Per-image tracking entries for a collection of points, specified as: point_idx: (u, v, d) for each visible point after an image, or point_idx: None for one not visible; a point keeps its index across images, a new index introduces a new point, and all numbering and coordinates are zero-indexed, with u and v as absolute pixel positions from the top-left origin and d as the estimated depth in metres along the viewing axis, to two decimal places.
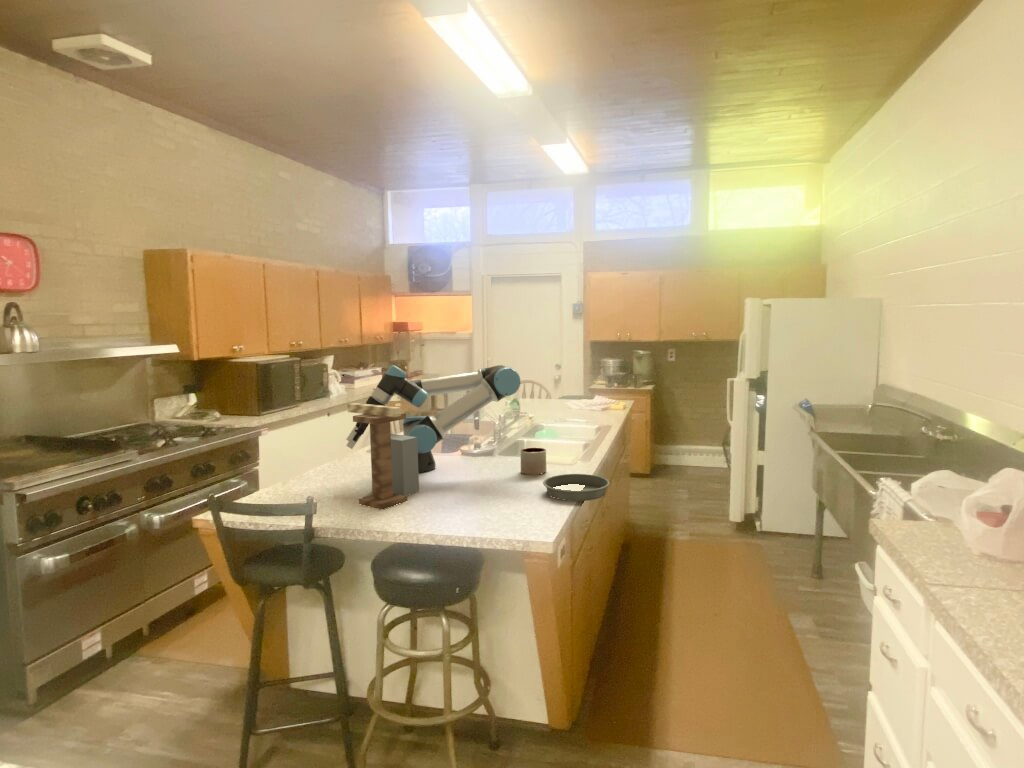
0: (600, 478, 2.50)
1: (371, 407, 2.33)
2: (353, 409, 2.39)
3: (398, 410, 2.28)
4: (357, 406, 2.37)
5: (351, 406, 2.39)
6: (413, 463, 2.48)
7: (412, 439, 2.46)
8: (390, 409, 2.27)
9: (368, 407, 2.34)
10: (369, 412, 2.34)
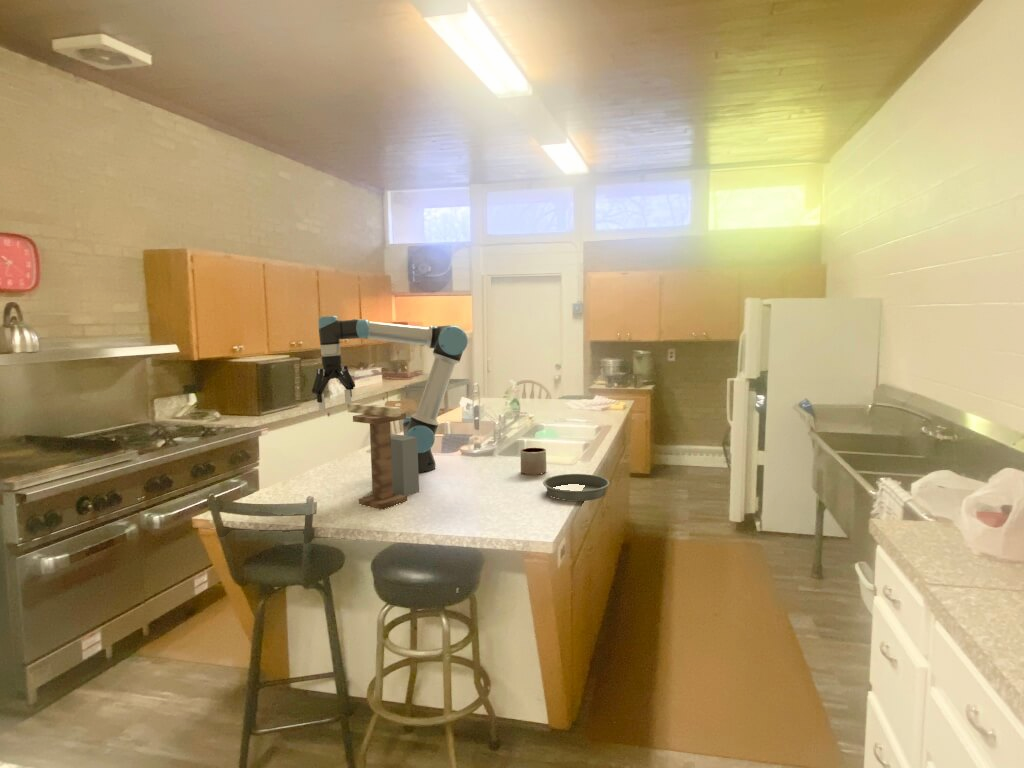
0: (600, 478, 2.50)
1: (371, 407, 2.33)
2: (353, 409, 2.39)
3: (398, 410, 2.28)
4: (357, 406, 2.37)
5: (351, 406, 2.39)
6: (413, 463, 2.48)
7: (412, 439, 2.46)
8: (390, 409, 2.27)
9: (368, 407, 2.34)
10: (369, 412, 2.34)
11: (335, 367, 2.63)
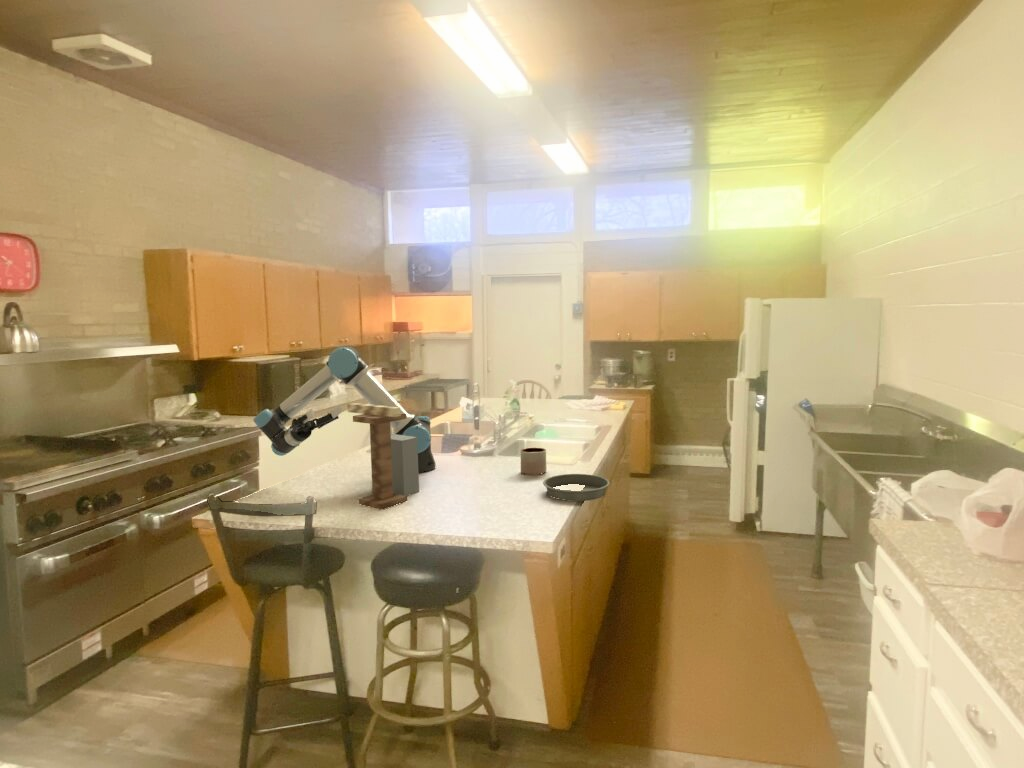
0: (600, 478, 2.50)
1: (371, 407, 2.33)
2: (353, 409, 2.39)
3: (398, 410, 2.28)
4: (357, 406, 2.37)
5: (351, 406, 2.39)
6: (413, 463, 2.48)
7: (412, 439, 2.46)
8: (390, 409, 2.27)
9: (368, 407, 2.34)
10: (369, 412, 2.34)
11: None
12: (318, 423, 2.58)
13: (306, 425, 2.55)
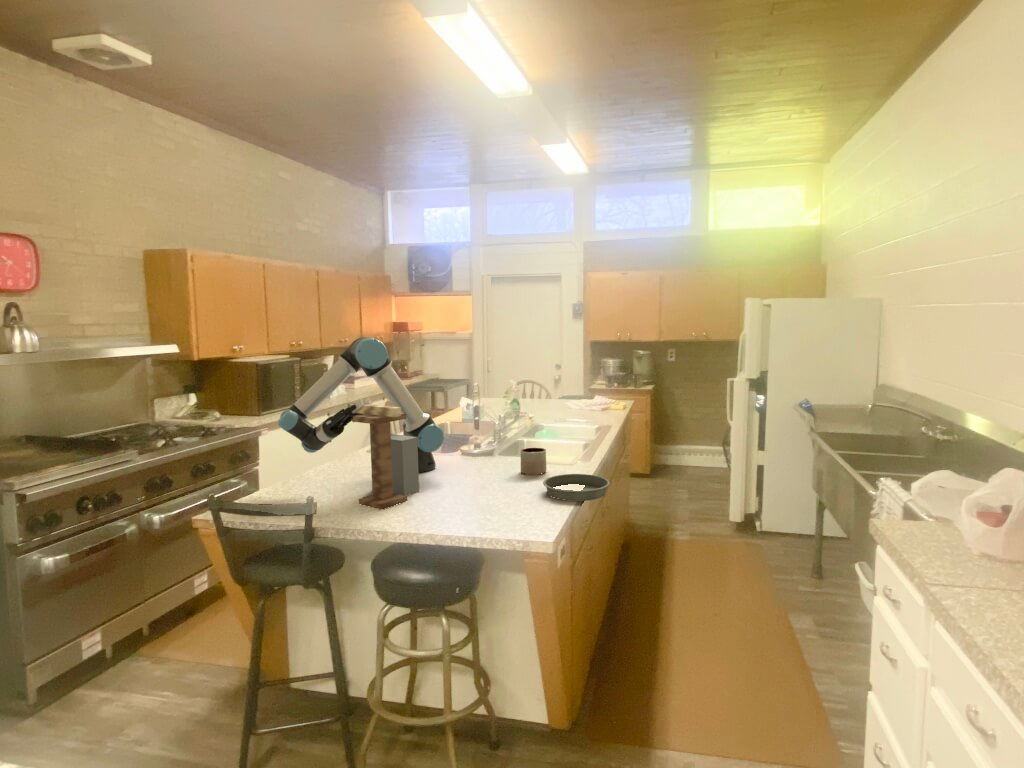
0: (600, 478, 2.50)
1: (371, 407, 2.33)
2: None
3: (398, 410, 2.28)
4: None
5: None
6: (413, 463, 2.48)
7: (412, 439, 2.46)
8: (390, 409, 2.27)
9: (368, 407, 2.34)
10: (369, 412, 2.34)
11: None
12: (348, 418, 2.45)
13: (339, 420, 2.43)
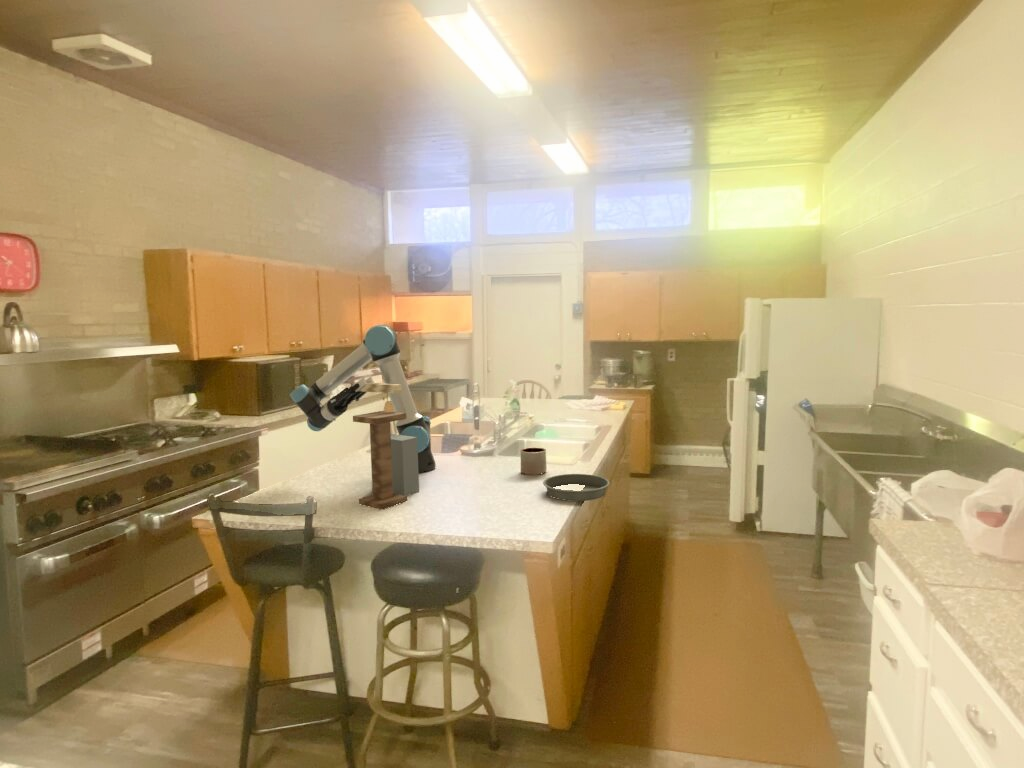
0: (600, 478, 2.50)
1: (373, 385, 2.47)
2: None
3: (399, 387, 2.43)
4: None
5: None
6: (413, 463, 2.48)
7: (412, 439, 2.46)
8: (391, 386, 2.42)
9: (370, 385, 2.48)
10: (371, 390, 2.48)
11: None
12: (351, 397, 2.59)
13: (343, 399, 2.57)
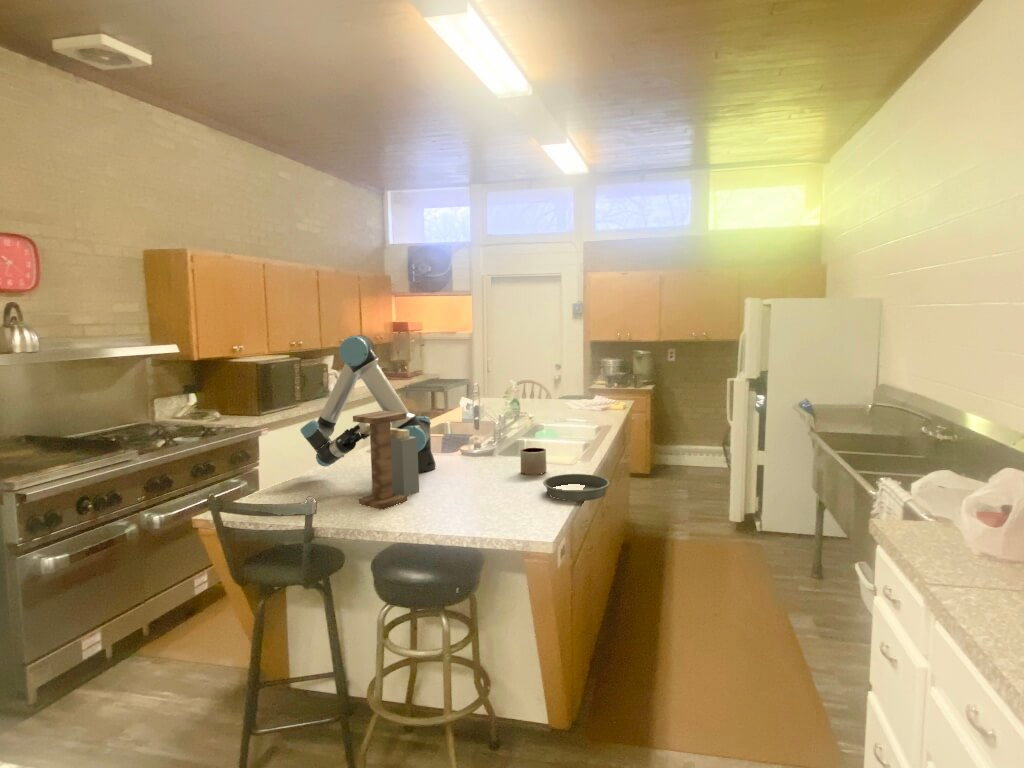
0: (600, 478, 2.50)
1: None
2: (365, 431, 2.57)
3: (407, 432, 2.46)
4: (368, 428, 2.56)
5: None
6: (413, 463, 2.48)
7: (412, 439, 2.46)
8: (399, 432, 2.46)
9: None
10: None
11: None
12: (362, 435, 2.64)
13: None
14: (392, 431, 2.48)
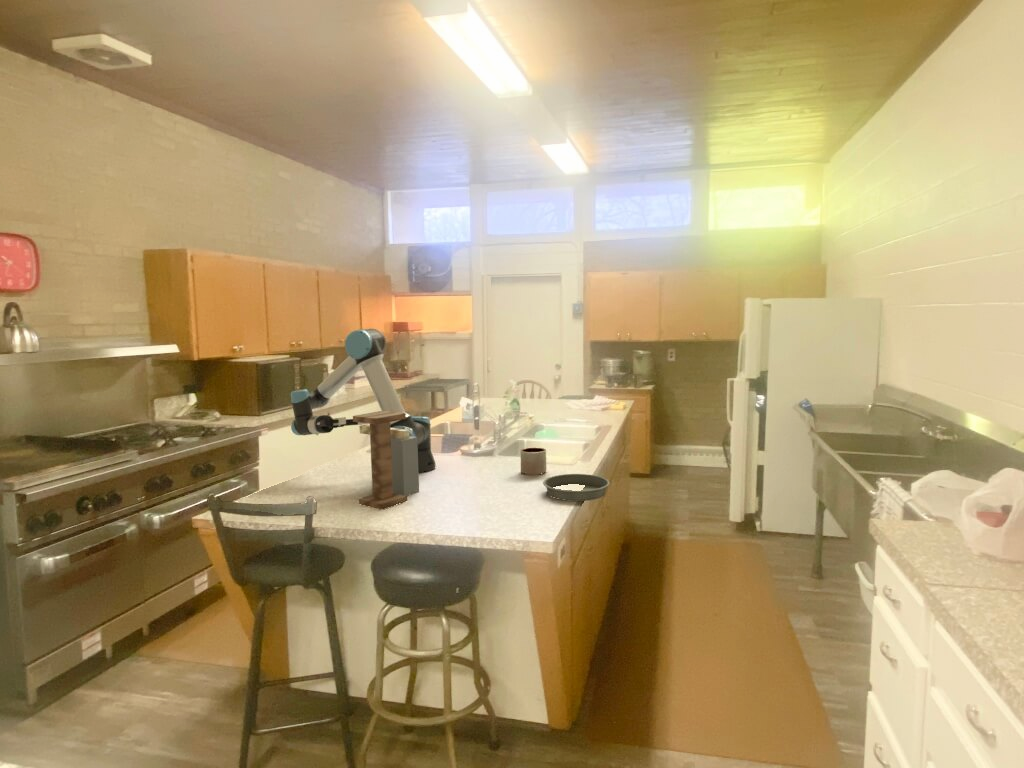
0: (600, 478, 2.50)
1: None
2: (365, 431, 2.57)
3: (407, 432, 2.46)
4: (368, 428, 2.56)
5: (362, 428, 2.58)
6: (413, 463, 2.48)
7: (412, 439, 2.46)
8: (399, 432, 2.46)
9: None
10: None
11: None
12: (343, 424, 2.75)
13: (332, 424, 2.71)
14: (392, 431, 2.48)
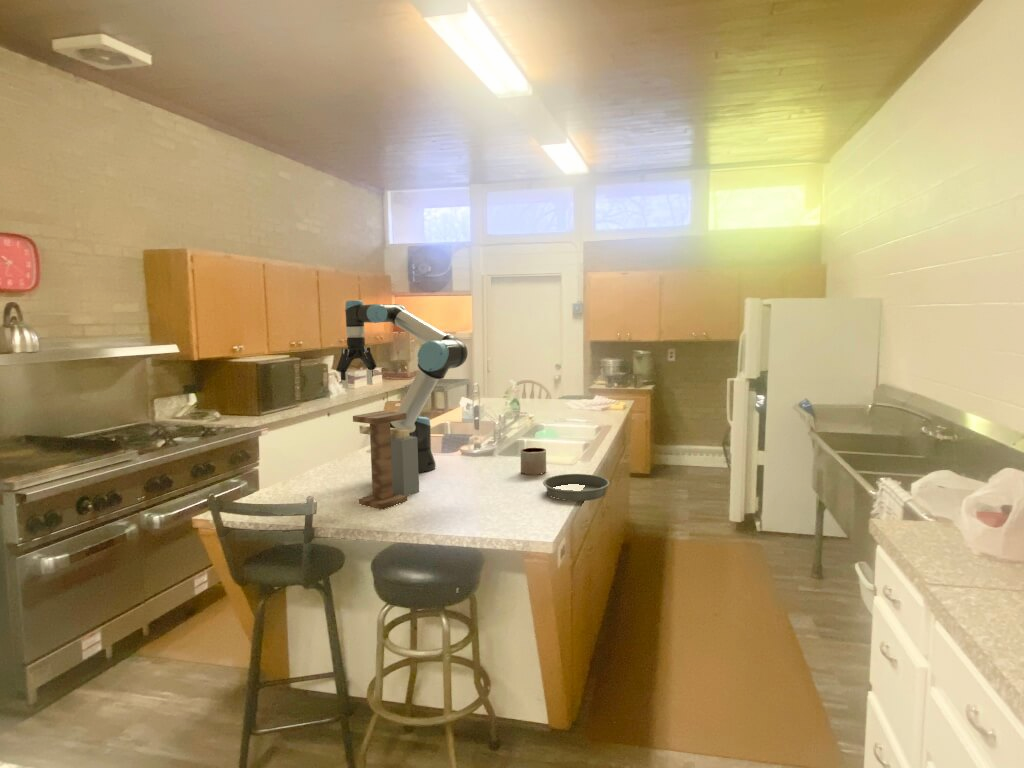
0: (600, 478, 2.50)
1: None
2: (365, 431, 2.57)
3: (407, 432, 2.46)
4: (368, 428, 2.56)
5: (362, 428, 2.58)
6: (413, 463, 2.48)
7: (412, 439, 2.46)
8: (399, 432, 2.46)
9: None
10: None
11: (359, 348, 2.82)
12: (361, 358, 2.86)
13: None
14: (392, 431, 2.48)
